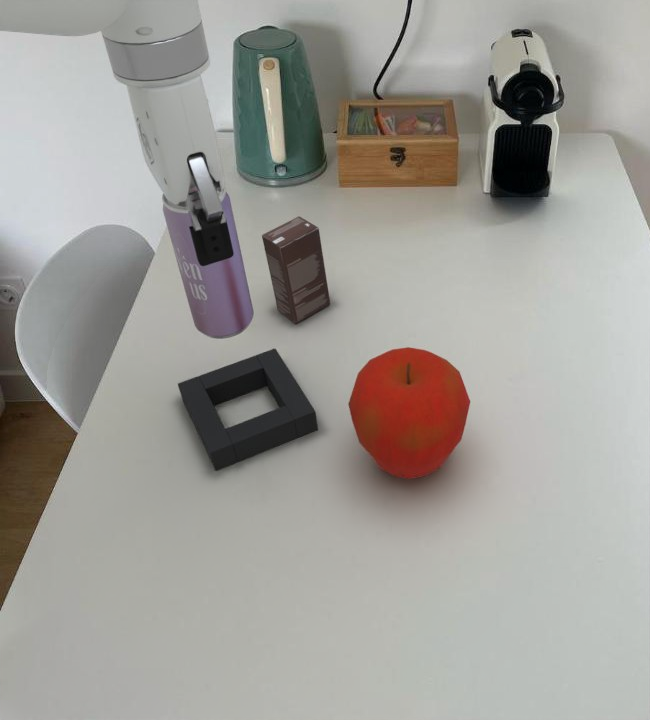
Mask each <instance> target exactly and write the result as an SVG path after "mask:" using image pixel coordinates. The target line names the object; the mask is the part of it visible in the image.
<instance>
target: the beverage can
mask: <svg viewBox="0 0 650 720" xmlns="http://www.w3.org/2000/svg"><path fill="white" fill-rule="evenodd" d="M194 191H197V189H196V186H195V185H192V186H190V187H189V192H188V193H191V192H194ZM217 191H218V190H217ZM218 195H219V198H220V201H221V205H222V208H223V211H224V215H225V218H226V220H227V225H228V229H229V234H230V239H231V243H232V248H233V252H234V255H233V256H232V257H231V258H228V259H225V260H222V261H219V262H216V263H213V264H209V265H206V266H201V265H200V264H199V262H198V260H197V256H196V252H195V248H194V244H193V240H192V236H191V233H190V229H189V227H190V226H192V223H191V219H190V216H189V213H188V210H187V207H186V204H185V201H183V202H179V204H177V205H176V204H173V203H171V202H170V201H168V199H167V198H166V197H165V195H164V193H163V192H162V195H161V201H162V212H163V216H164V220H165V222H166V227H167V231H168V235H169V238H170V241H171V245H172V248H173V252H174V256H175V259H176V263H177V267H178V271H179V274H180V277H181V281H182V284H183V289H184V292H185V296H186V299H187V303H188V307H189V310H190V314H191V317H192V322H193V324H194V327H195V329H196V330H198V331H199V332H200V333H201V334H203V336H205V337H208V338H211V339H217V340H218V339H219V340H223V339H224V340H225V339H229V338H233V337H236V336H238V335H241V333H243V332H244V331H246V330H247V329H248V327H249V326H250V324H251V323H252V321H253V318H254V307H253V302H252V297H251V293H250V288H249V283H248V279H247V275H246V274H247V273H246V269H245V264H244V260H243V255H242V250H241V245H240V241H239V235H238V231H237V226H236V221H235V217H234V216H235V215H234V211H233V205H232V201H231V197H230V195H229V193H228V192H227V189H226V186H225V187H224V189H223V190H222V191H221V192H219V191H218ZM193 202H194V206H195V209H196V212H197V215H198V211H199V209H202V202H201V199H199V200H195V201H193Z"/></svg>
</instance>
